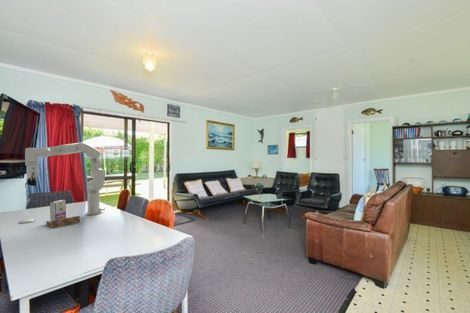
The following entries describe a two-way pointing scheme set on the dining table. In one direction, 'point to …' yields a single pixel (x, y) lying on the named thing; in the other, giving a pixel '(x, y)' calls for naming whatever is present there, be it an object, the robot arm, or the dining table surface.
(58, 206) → the candy bar box
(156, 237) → the dining table surface
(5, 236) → the dining table surface
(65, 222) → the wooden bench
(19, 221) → the white dome
